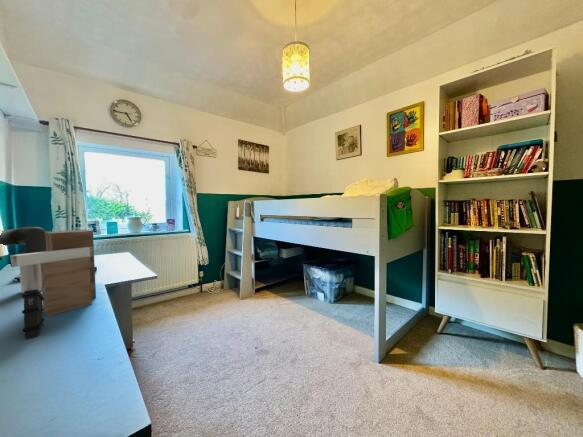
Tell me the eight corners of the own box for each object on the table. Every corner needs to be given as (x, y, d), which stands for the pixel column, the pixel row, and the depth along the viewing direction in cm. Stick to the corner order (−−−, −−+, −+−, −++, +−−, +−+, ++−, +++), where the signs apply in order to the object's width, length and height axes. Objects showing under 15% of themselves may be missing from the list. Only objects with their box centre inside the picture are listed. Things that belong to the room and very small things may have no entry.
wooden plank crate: (35, 304, 108) (31, 232, 106) (88, 292, 122) (85, 229, 121) (46, 316, 95) (41, 235, 94) (103, 301, 110) (99, 231, 109)
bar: (10, 265, 91) (10, 255, 91) (90, 255, 111) (90, 246, 111) (12, 267, 89) (11, 256, 89) (93, 256, 108) (93, 247, 108)
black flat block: (20, 339, 76) (22, 291, 80) (29, 341, 85) (30, 298, 89) (38, 335, 78) (38, 288, 82) (44, 337, 87) (44, 295, 92)
